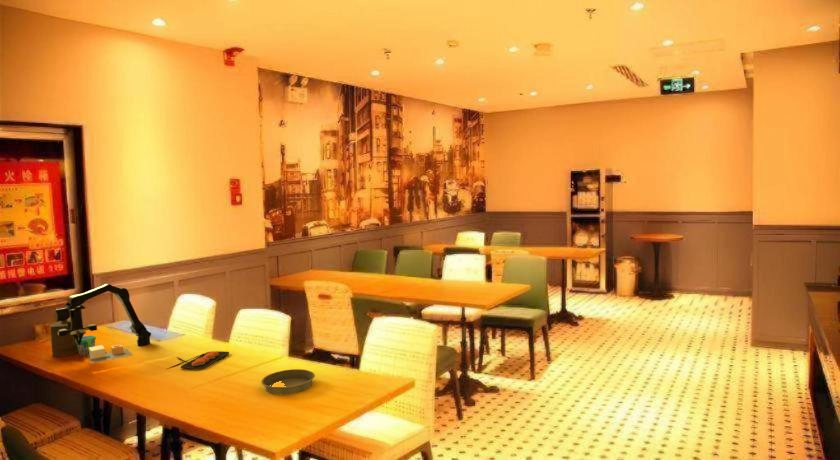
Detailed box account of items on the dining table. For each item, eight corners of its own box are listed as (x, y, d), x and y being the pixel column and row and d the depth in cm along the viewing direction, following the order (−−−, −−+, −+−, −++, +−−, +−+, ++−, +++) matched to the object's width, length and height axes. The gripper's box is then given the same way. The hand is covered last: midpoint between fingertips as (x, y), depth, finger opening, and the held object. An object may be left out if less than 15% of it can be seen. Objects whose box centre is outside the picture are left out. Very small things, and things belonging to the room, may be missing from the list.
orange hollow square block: (121, 350, 345) (121, 344, 344) (123, 352, 340) (123, 346, 340) (111, 352, 342) (111, 346, 341) (113, 354, 337) (112, 348, 337)
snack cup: (74, 353, 348) (72, 337, 347) (94, 350, 354) (92, 333, 353) (79, 359, 336) (77, 342, 335) (99, 355, 342) (98, 338, 341)
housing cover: (102, 353, 341) (102, 345, 340) (105, 357, 333) (104, 348, 333) (89, 356, 337) (88, 347, 336) (91, 359, 329) (90, 351, 328)
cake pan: (252, 388, 275) (251, 379, 274) (297, 374, 292) (296, 365, 292) (279, 401, 257) (279, 391, 257) (325, 385, 274) (325, 376, 274)
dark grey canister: (86, 349, 357) (83, 313, 355) (69, 356, 343) (66, 319, 341) (64, 349, 359) (60, 314, 357) (46, 356, 344) (42, 320, 342)
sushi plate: (203, 371, 304) (202, 364, 304) (152, 370, 310) (151, 363, 310) (231, 354, 332) (231, 348, 332) (184, 354, 339) (184, 347, 338)
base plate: (127, 350, 350) (126, 345, 349) (133, 357, 335) (132, 351, 335) (87, 358, 337) (86, 352, 337) (91, 365, 323) (91, 359, 322)
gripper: (93, 312, 340) (95, 338, 341) (55, 318, 329) (58, 345, 330) (95, 315, 331) (98, 342, 332) (57, 321, 320) (60, 349, 321)
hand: (79, 344), depth 329 cm, fingers closed
